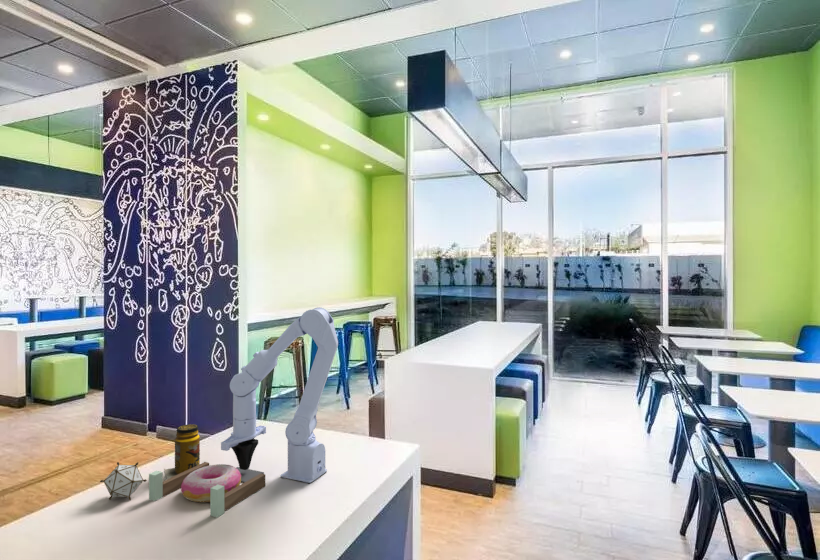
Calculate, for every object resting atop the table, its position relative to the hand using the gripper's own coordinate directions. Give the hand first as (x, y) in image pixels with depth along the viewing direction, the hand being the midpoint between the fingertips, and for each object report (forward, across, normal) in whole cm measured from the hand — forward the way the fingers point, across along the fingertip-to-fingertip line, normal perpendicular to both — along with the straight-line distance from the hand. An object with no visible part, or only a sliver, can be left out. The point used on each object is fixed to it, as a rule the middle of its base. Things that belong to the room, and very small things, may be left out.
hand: (244, 468), depth 122 cm
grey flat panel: (+1, +1, 0) cm, 2 cm away
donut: (+2, +11, 0) cm, 11 cm away
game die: (+2, +21, -17) cm, 27 cm away
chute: (+1, +11, 0) cm, 11 cm away
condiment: (+2, +5, -16) cm, 17 cm away
